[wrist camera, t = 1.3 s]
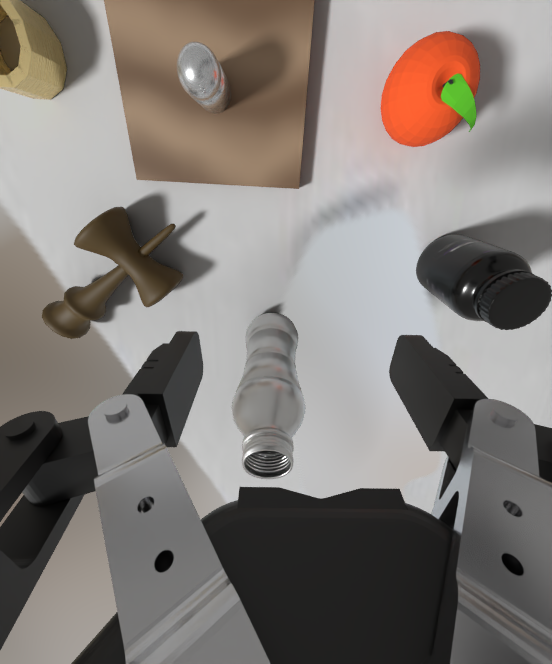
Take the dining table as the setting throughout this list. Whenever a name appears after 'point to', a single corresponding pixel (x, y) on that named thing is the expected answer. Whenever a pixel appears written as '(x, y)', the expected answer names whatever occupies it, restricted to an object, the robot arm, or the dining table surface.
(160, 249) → the dining table surface
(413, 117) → the clementine
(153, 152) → the walnut base plate
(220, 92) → the steel post
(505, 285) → the supplement bottle
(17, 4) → the brass ring
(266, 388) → the plastic bottle
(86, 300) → the kendama
